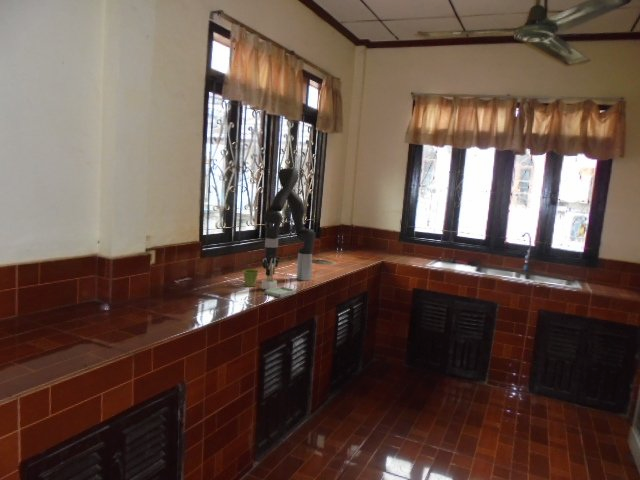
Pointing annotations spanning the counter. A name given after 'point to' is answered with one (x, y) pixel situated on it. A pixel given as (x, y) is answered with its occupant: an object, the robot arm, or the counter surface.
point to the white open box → (269, 284)
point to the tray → (280, 291)
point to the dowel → (270, 277)
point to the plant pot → (250, 277)
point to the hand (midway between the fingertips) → (269, 274)
